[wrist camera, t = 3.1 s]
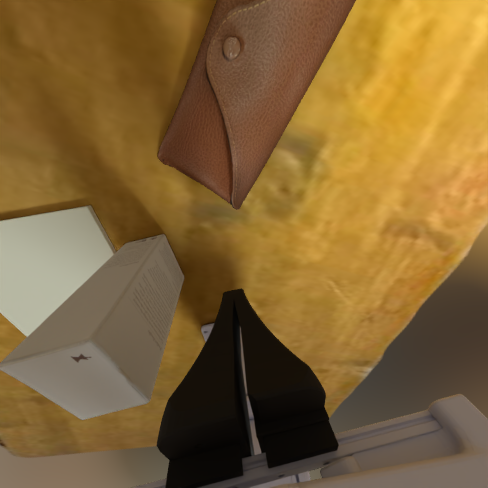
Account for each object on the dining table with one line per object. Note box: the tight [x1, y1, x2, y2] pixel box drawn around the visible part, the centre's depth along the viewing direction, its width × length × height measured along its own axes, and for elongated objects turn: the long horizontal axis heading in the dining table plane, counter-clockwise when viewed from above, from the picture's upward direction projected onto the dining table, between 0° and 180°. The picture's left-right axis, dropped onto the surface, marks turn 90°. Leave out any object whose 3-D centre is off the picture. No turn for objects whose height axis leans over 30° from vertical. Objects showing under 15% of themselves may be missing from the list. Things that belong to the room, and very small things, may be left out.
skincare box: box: [0, 234, 184, 420], centre depth 14 cm, size 6×4×12 cm
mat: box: [0, 205, 116, 337], centre depth 18 cm, size 14×14×1 cm
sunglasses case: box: [158, 0, 356, 210], centre depth 13 cm, size 18×7×7 cm, turn 151°
